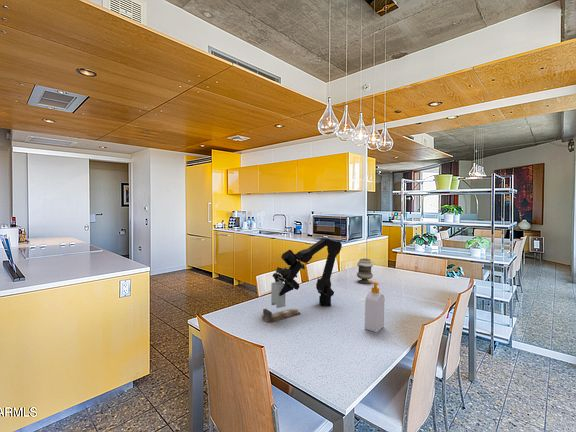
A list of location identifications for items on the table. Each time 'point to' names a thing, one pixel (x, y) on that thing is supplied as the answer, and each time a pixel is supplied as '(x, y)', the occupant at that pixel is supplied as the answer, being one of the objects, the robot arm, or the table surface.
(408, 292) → the table surface
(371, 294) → the soap bottle
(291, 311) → the rail board
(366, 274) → the stone urn vase
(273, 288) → the block
